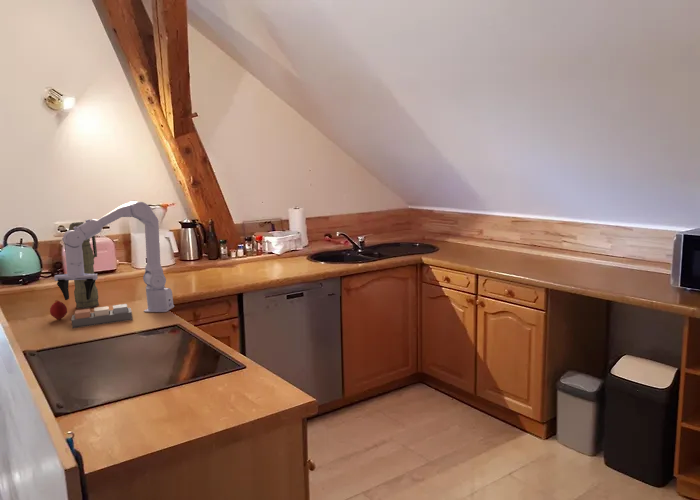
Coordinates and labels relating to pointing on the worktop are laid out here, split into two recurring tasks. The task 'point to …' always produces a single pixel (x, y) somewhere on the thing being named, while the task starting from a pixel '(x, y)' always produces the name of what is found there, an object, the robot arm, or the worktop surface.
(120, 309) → the light gray key
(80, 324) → the key panel
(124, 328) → the worktop surface
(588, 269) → the worktop surface
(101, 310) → the cream key
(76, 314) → the terracotta key
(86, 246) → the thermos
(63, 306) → the onion
